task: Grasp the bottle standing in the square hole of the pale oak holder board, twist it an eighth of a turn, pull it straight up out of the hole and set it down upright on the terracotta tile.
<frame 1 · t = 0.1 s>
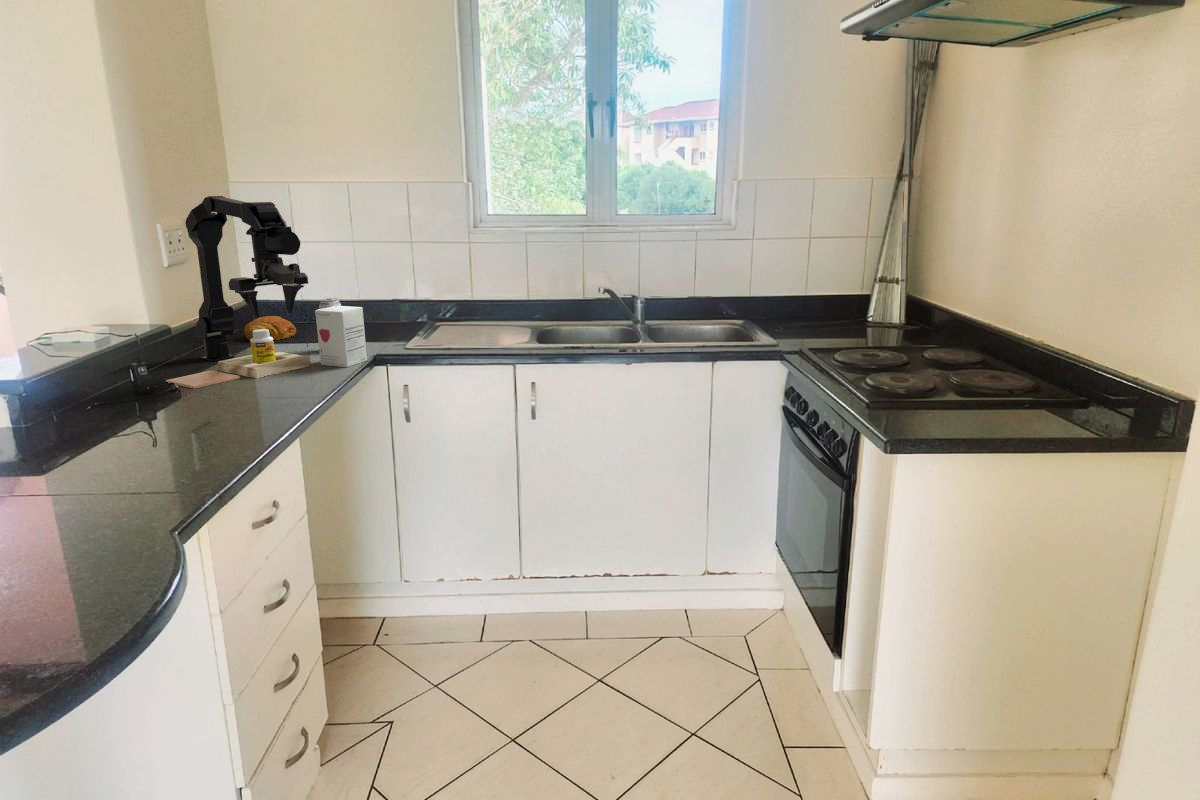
hand: (273, 315, 197), 14 cm above the counter, fingers open, 9 cm apart
supplement bottle: (265, 369, 202), resting in holder board
croissant: (272, 338, 244), on the counter
holder board: (265, 368, 202), on the counter
terracotta tile: (203, 380, 190), on the counter
supplement box: (344, 363, 208), on the counter
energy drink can: (334, 350, 224), on the counter
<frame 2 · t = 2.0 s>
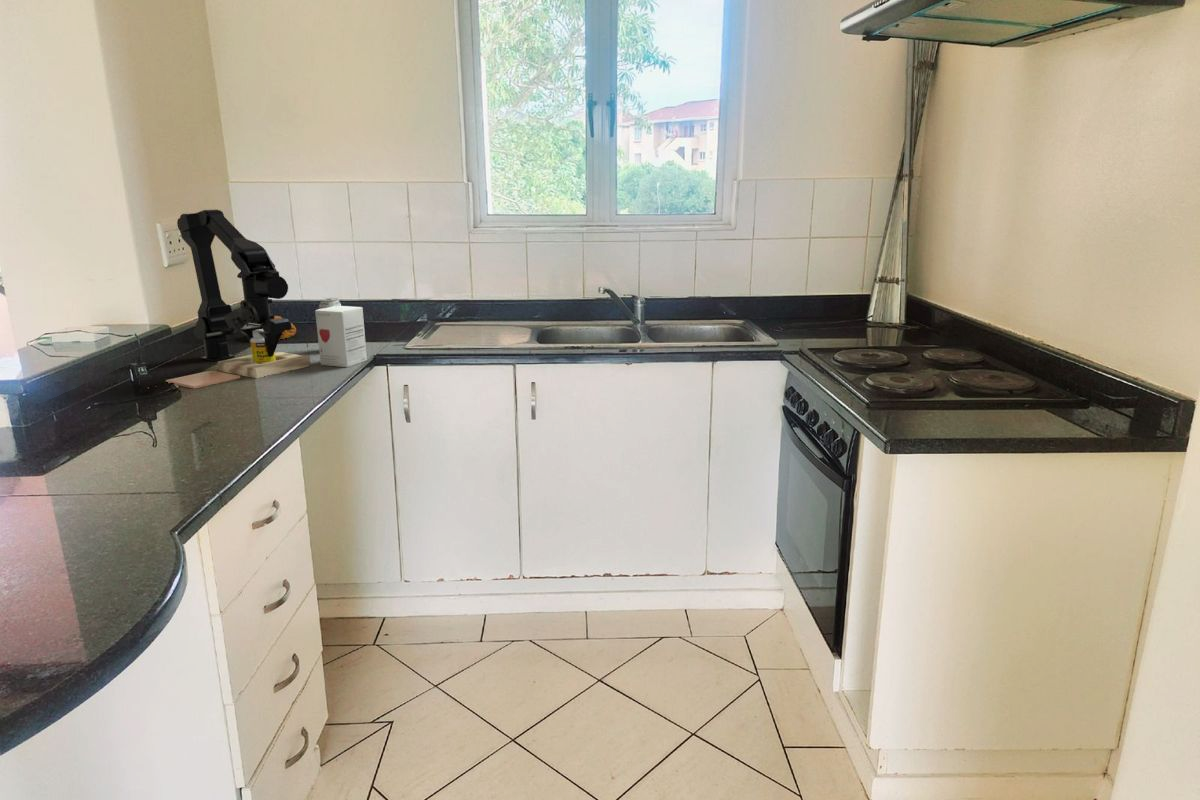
hand: (263, 355, 201), 4 cm above the counter, fingers closed on supplement bottle, 5 cm apart
supplement bottle: (265, 369, 202), resting in holder board, touching gripper
everything else where it was.
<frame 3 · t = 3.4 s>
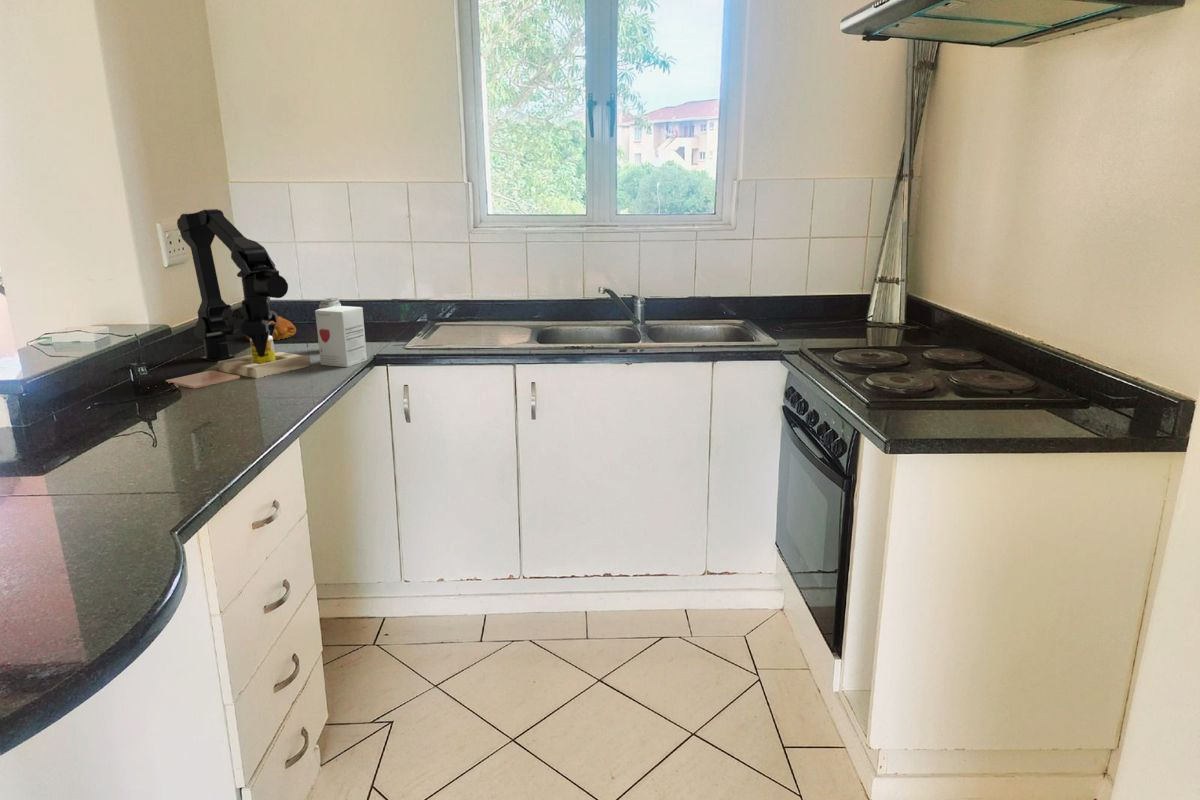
hand: (263, 354, 201), 4 cm above the counter, fingers closed on supplement bottle, 5 cm apart
supplement bottle: (265, 368, 202), resting in holder board, touching gripper
everything else where it was.
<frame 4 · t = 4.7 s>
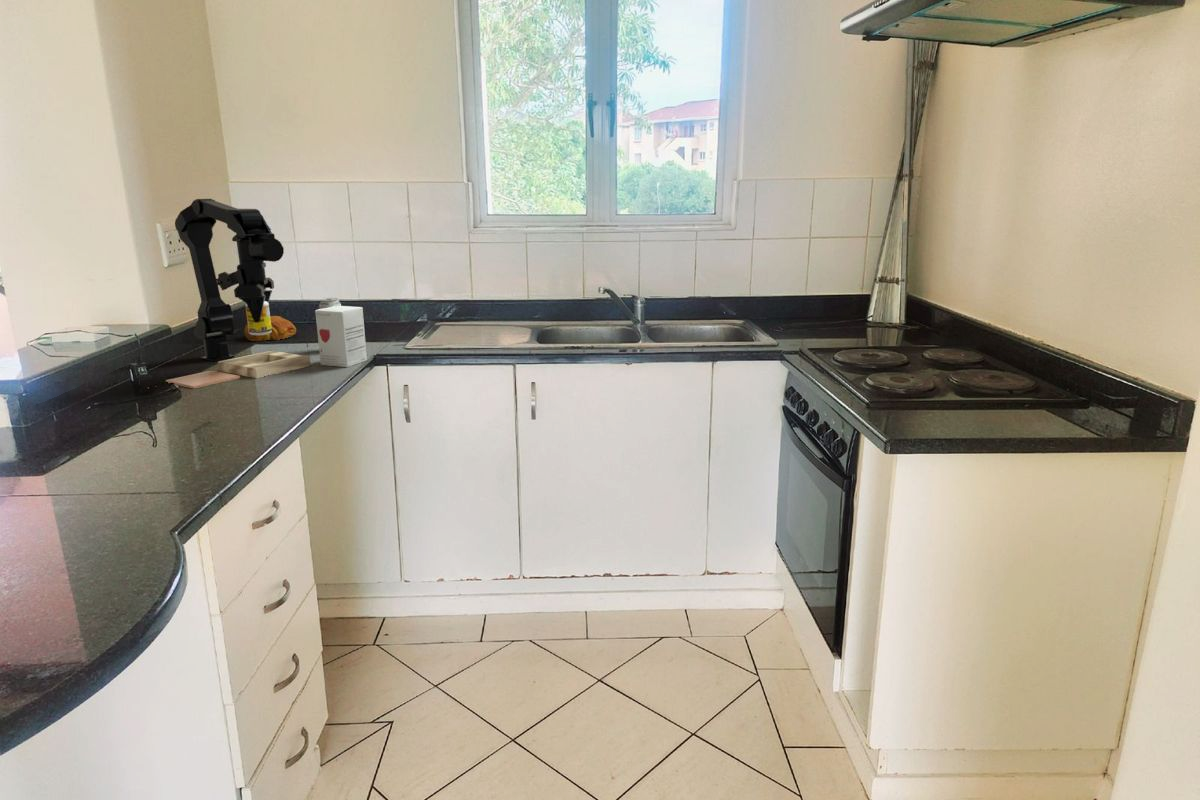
hand: (259, 320, 199), 13 cm above the counter, fingers closed on supplement bottle, 5 cm apart
supplement bottle: (260, 334, 200), point 9 cm above the counter, touching gripper
everything else where it was.
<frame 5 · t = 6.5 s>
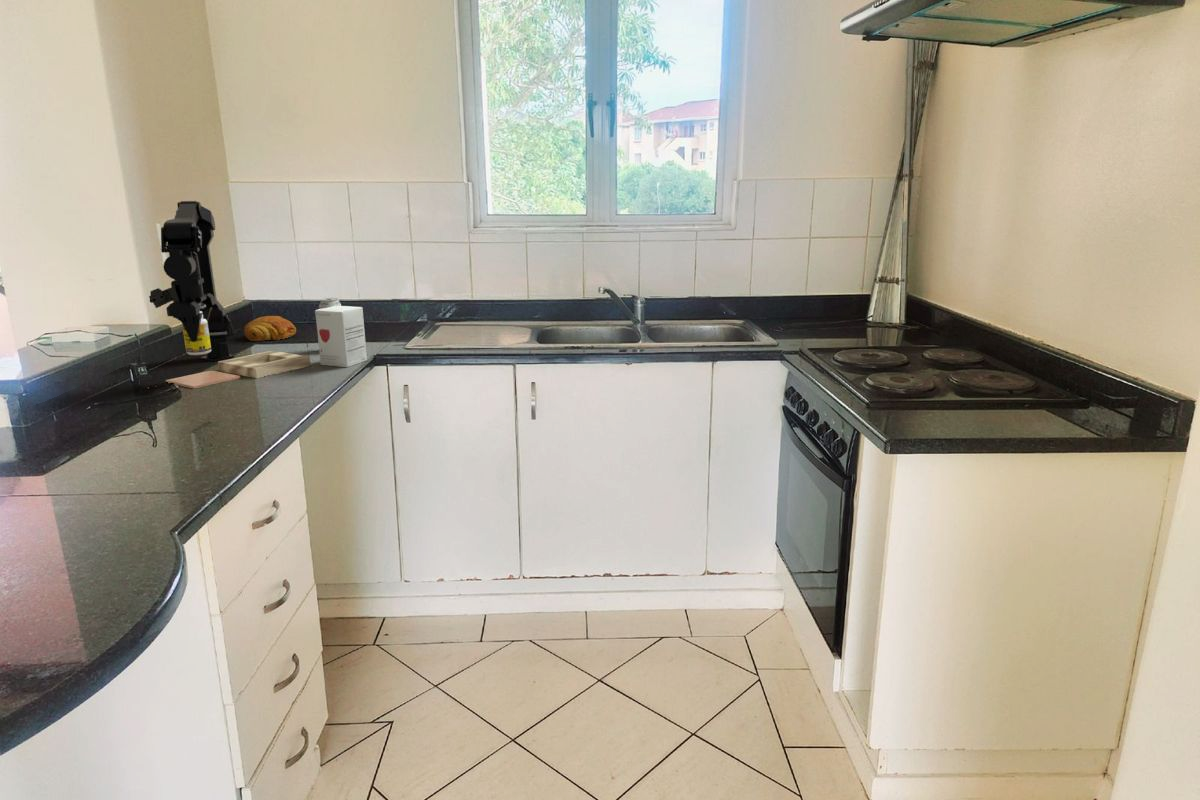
hand: (197, 339, 188), 10 cm above the counter, fingers closed on supplement bottle, 5 cm apart
supplement bottle: (199, 353, 189), point 7 cm above the counter, touching gripper
everything else where it was.
when the fingers open (5 cm above the counter, at t = 7.8 s): supplement bottle stays where it is, resting on terracotta tile.
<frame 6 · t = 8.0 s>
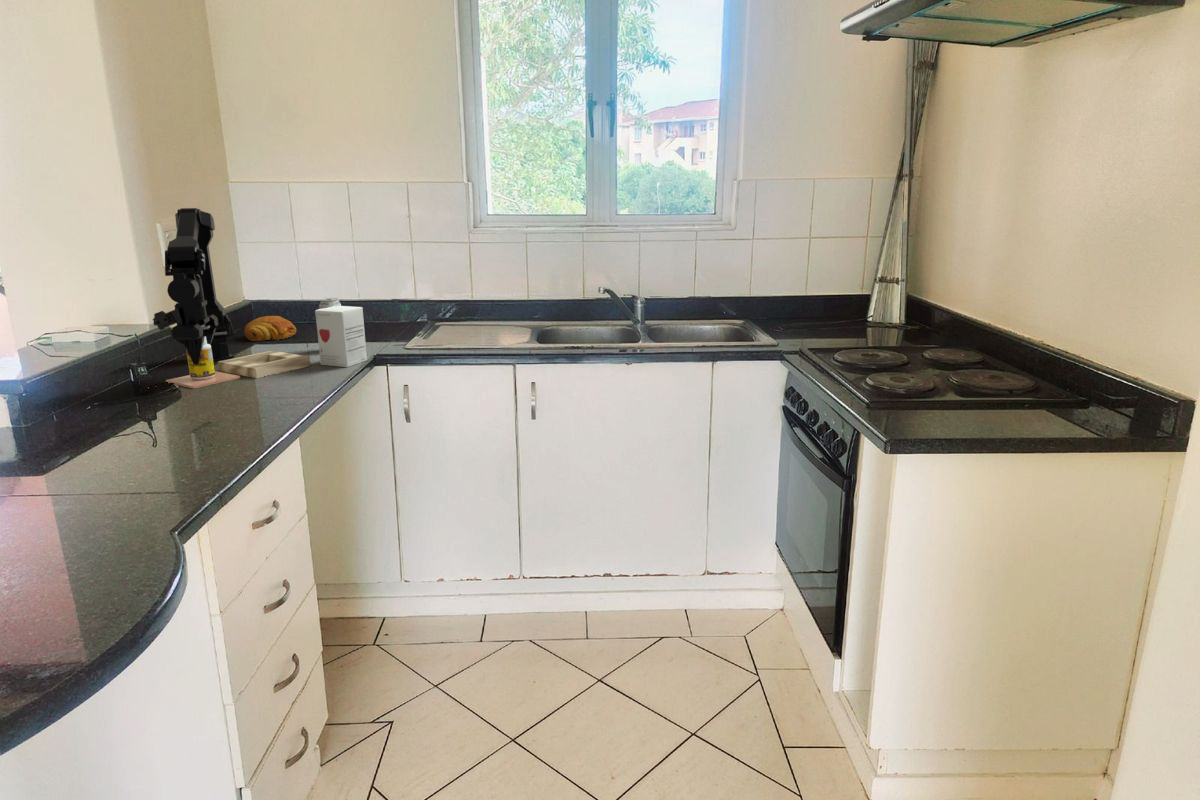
hand: (200, 360, 189), 5 cm above the counter, fingers open, 7 cm apart
supplement bottle: (203, 378, 190), resting on terracotta tile
everything else where it was.
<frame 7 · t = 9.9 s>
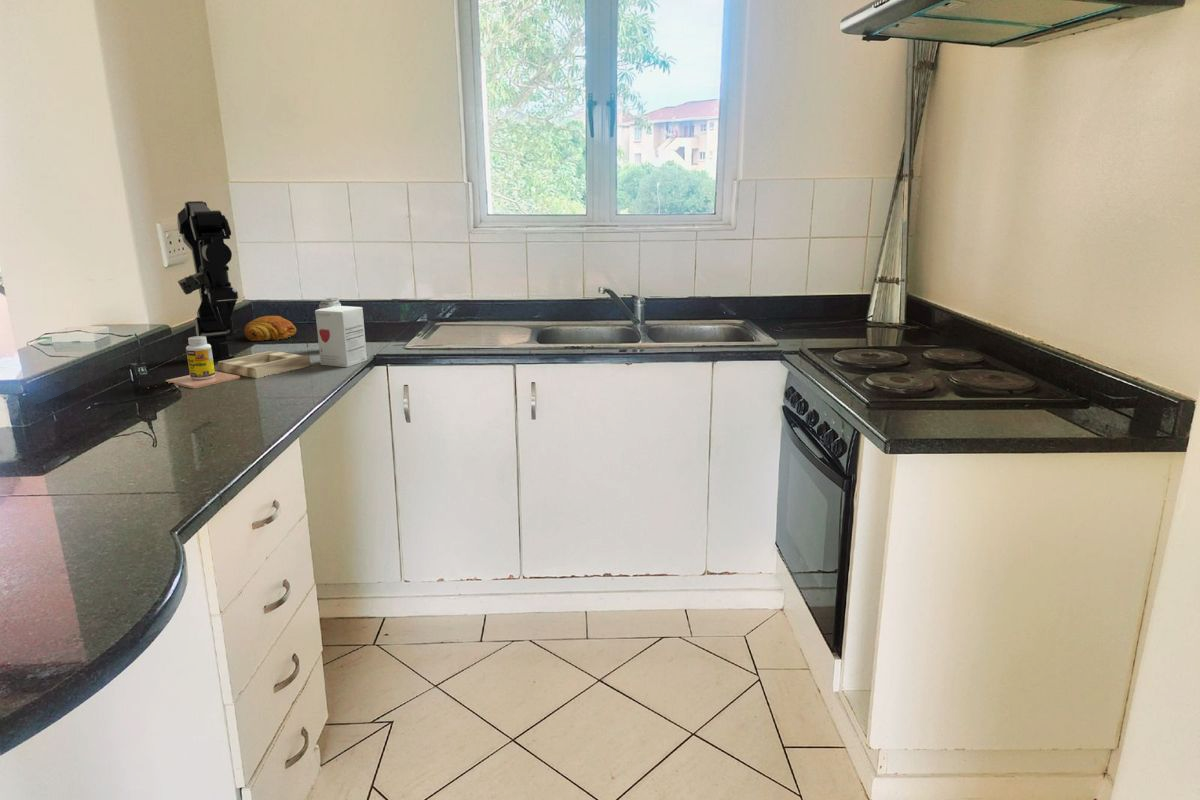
hand: (222, 323, 196), 13 cm above the counter, fingers open, 9 cm apart
nothing on the counter moved.
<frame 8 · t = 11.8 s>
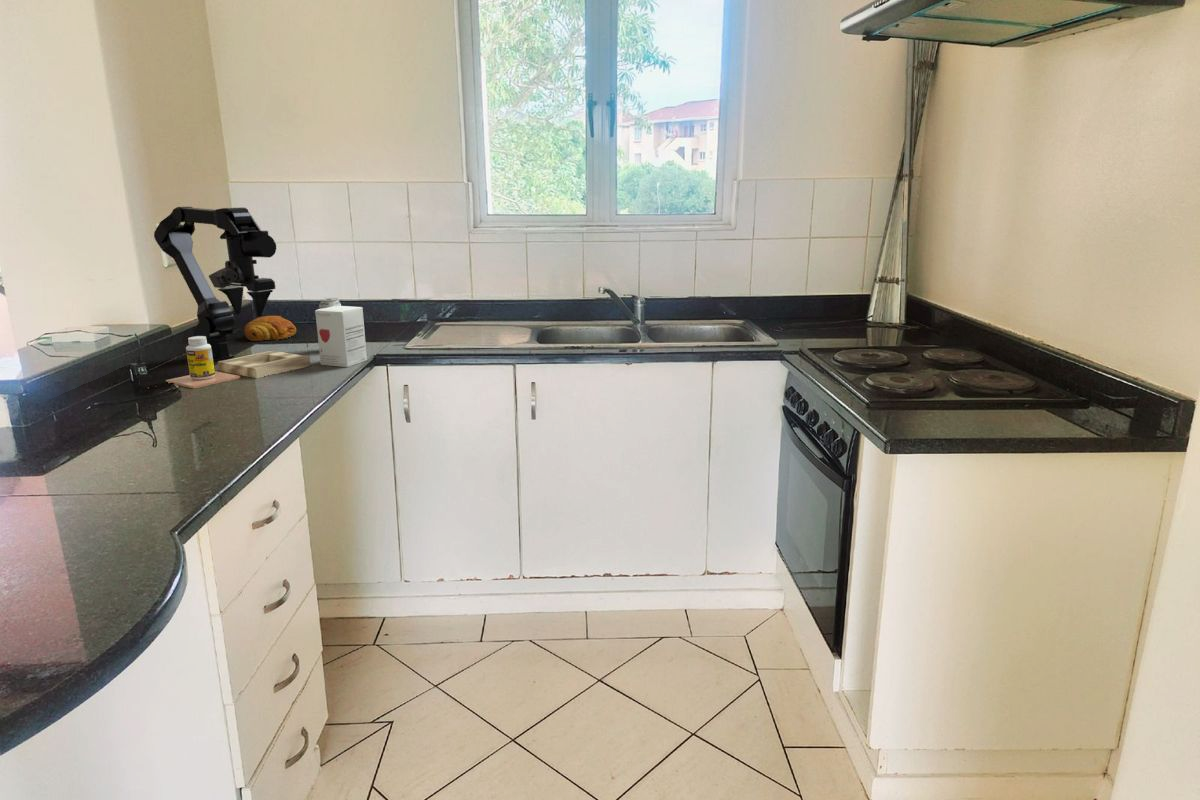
hand: (248, 315, 206), 13 cm above the counter, fingers open, 9 cm apart
nothing on the counter moved.
at the end: supplement bottle inside the target area (0.1 cm from its centre), resting on terracotta tile; supplement bottle tilted 0°; the gripper is holding nothing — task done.
